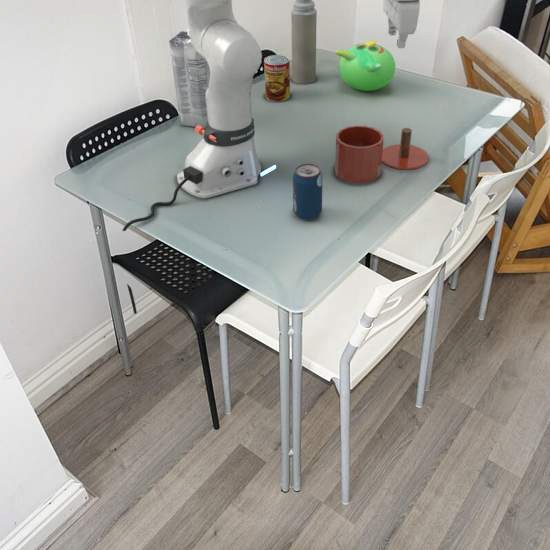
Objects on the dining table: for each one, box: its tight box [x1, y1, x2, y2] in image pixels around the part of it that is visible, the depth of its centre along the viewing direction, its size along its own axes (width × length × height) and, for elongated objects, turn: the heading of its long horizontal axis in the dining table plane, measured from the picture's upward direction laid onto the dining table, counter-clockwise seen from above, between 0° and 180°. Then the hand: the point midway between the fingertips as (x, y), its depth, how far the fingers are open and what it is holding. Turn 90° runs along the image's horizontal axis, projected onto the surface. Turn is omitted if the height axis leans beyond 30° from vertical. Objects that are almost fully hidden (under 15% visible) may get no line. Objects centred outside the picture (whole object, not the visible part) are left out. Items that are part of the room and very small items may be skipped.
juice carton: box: [168, 28, 210, 128], centre depth 179 cm, size 9×10×27 cm
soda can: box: [292, 163, 324, 221], centre depth 145 cm, size 7×7×12 cm
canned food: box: [263, 54, 291, 103], centre depth 196 cm, size 8×8×12 cm
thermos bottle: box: [290, 0, 318, 85], centre depth 201 cm, size 8×8×28 cm
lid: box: [381, 127, 429, 171], centre depth 164 cm, size 13×13×9 cm
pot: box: [334, 125, 385, 184], centre depth 159 cm, size 12×12×10 cm
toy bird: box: [334, 39, 396, 92], centre depth 198 cm, size 18×17×15 cm
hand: (396, 40), depth 160 cm, fingers open, 8 cm apart
